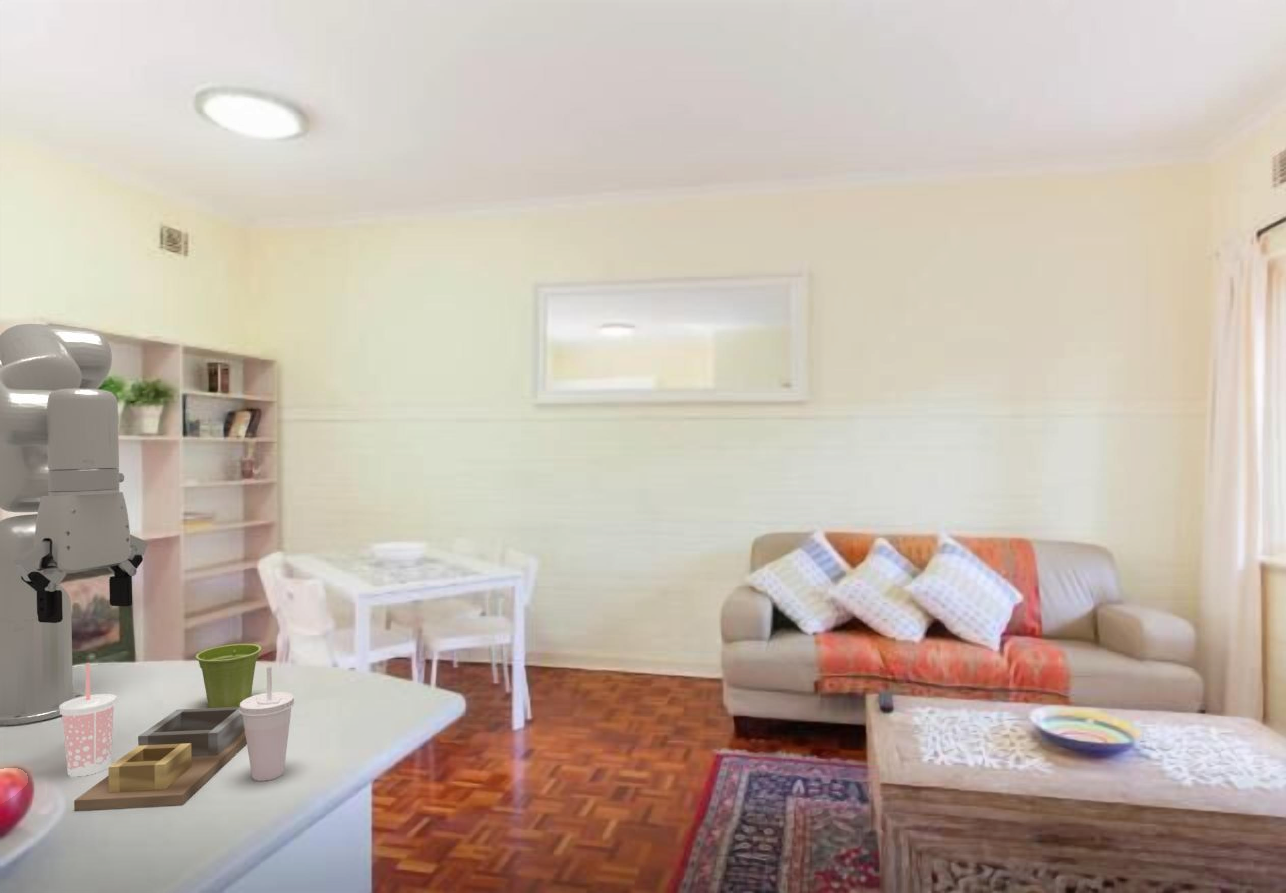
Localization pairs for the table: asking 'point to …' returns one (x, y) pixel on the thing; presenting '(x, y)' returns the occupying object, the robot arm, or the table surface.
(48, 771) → the table surface
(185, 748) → the fitting board
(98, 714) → the beverage cup
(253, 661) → the plant pot
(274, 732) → the smoothie
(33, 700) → the robot arm
